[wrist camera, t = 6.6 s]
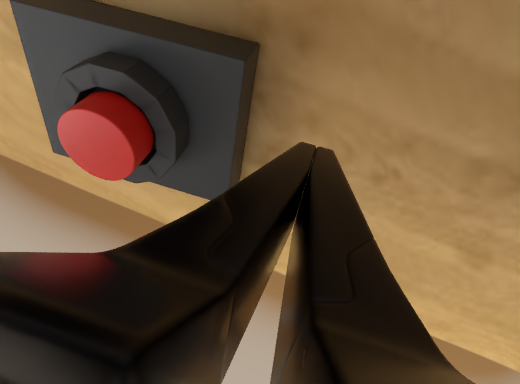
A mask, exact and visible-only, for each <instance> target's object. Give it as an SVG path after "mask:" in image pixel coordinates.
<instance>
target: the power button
mask: <svg viewBox="0 0 520 384" xmlns="http://www.w3.org/2000/svg"><path fill="white" fill-rule="evenodd" d="M57 130H58V136H59V139H60V142H61V144H62V146H63V148H64V150H65V151H66V152H67V154H68V155H69V156H70V158H71V159H72V160H73V161H74V162H75V163H76V164H77V165H79V166H80V167H81V168H82V169H84V170H85V171H87V172H88V173H90V174H92V175H94V176H96V177H99V178H101V179H105V180H112V181H116V180H122V179H124V178H127V177H128V176H129V175H130V174H131V173H132V172H133V171H134V170H135V169H136V168H137V167H138V165H139V164H140V163H141V162H142V161H143V160H144V159H145V158H146V156H147V155H148V154H149V153H150V151H151V150H152V147H153V142H154V137H153V131H152V128H151V125H150V123H149V121H148V119H147V118H146V116H145V115H144V114H143V112H142V111H141V110H140V109H139V108H138V107H137V106H136V105H135V104H134V103H133V102H131V101H130V100H128V99H127V98H125V97H123V96H121V95H119V94H117V93H114V92H109V91H97V92H94V93H91V94H90V95H88V96H87V97H86V98H84V99H83V100H81V101H80V102H78V103H77V104H76V105H74V106H73V107H71V108H70V109H68V110H67V111H66V112H64V113H63V114H62V115H61V117H60V119H59V121H58V126H57Z"/></svg>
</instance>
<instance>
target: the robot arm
mask: <svg viewBox="0 0 520 384" xmlns="http://www.w3.org/2000/svg"><path fill="white" fill-rule="evenodd" d="M314 154H315V155H314ZM313 157H314V158H313ZM311 164H312V165H311ZM309 171H310V172H309ZM308 174H309V175H308ZM306 181H307V182H306ZM305 184H306V185H305ZM304 188H305V189H304ZM303 191H304V192H303ZM301 198H302V199H301ZM300 201H301V202H300ZM298 208H299V209H298ZM297 211H298V212H297ZM296 215H297V216H296ZM295 218H296V219H295ZM294 221H295V223H294ZM293 224H294V227H293ZM292 227H293V232H292V239H291V246H290V252H289V259H288V266H287V273H286V280H285V286H284V293H283V300H282V307H281V314H280V321H279V327H278V334H277V341H276V347H275V354H274V362H273V368H272V375H271V382H270V384H475V383H473V382H472V381H470V380H469V379H467V378H466V377H465V376H464V375H462V374H461V373H460V372H459V371H458V370H456V369H455V368H454V367H453V366H452V365H451V363H450V362H449V361H448V360H447V359H446V358H445V356H444V355H443V354H442V353H441V351H440V350H439V348H438V347H437V346H436V344H435V343H434V341H433V339H432V338H431V336H430V334H429V333H428V331H427V330H426V328H425V327H424V325H423V323H422V322H421V320H420V319H419V317H418V315H417V314H416V312H415V311H414V309H413V307H412V306H411V304H410V303H409V301H408V299H407V298H406V296H405V295H404V293H403V291H402V290H401V288H400V286H399V285H398V283H397V281H396V279H395V278H394V276H393V274H392V273H391V271H390V269H389V267H388V265H387V263H386V261H385V259H384V257H383V255H382V253H381V252H380V249H379V247H378V245H377V243H376V241H375V240H374V237H373V235H372V233H371V230H370V228H369V226H368V224H367V222H366V220H365V218H364V215H363V213H362V211H361V209H360V207H359V205H358V203H357V200H356V198H355V196H354V194H353V192H352V190H351V188H350V185H349V183H348V181H347V179H346V177H345V175H344V173H343V170H342V168H341V166H340V164H339V162H338V160H337V158H336V155H335V153H334V151H333V150H330V149H327V148H323V147H317V148H316V146H315V145H312V144H309V143H305V142H300V143H298V144H296V145H295V146H293V147H292V148H290V149H289V150H287V151H286V152H284V153H283V154H281V155H280V156H278V157H277V158H275V159H274V160H272V161H271V162H269V163H268V164H266V165H264V166H263V167H261V168H260V169H258V170H257V171H255V172H254V173H252V174H251V175H249V176H248V177H246V178H245V179H243V180H242V181H240V182H239V183H237V184H236V185H234V186H232V187H231V188H229V189H228V190H226V191H225V192H223V194H220V195H219V196H217V197H215V198H214V199H212V200H211V201H209V202H208V203H206V204H204V205H203V206H201V207H199V208H198V209H196V210H194V211H192V212H190V213H189V214H187V215H185V216H183V217H181V218H179V219H177V220H175V221H173V222H171V223H169V224H167V225H165V226H163V227H161V228H159V229H157V230H155V231H153V232H151V233H149V234H147V235H145V236H143V237H140V238H138V239H137V240H134V241H132V242H130V243H128V244H126V245H124V246H121V247H119V248H116V249H113V250H109V251H105V252H98V253H47V252H44V253H43V252H40V253H39V252H37V253H36V252H0V384H221V383H222V381H223V379H224V376H225V374H226V372H227V370H228V368H229V366H230V363H231V361H232V359H233V357H234V355H235V352H236V350H237V348H238V346H239V344H240V341H241V339H242V337H243V335H244V333H245V331H246V328H247V326H248V324H249V322H250V320H251V317H252V315H253V313H254V311H255V309H256V306H257V304H258V302H259V300H260V298H261V296H262V293H263V291H264V289H265V287H266V285H267V282H268V280H269V278H270V276H271V274H272V271H273V269H274V267H275V265H276V263H277V261H278V258H279V256H280V254H281V252H282V250H283V247H284V245H285V243H286V241H287V239H288V236H289V234H290V232H291V229H292Z"/></svg>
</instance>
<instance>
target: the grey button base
mask: <svg viewBox="0 0 520 384" xmlns="http://www.w3.org/2000/svg"><path fill="white" fill-rule="evenodd" d="M10 3H11V7H12V10H13V14H14V17H15V21H16V24H17V28H18V31H19V35H20V38H21V42H22V45H23V49H24V52H25V56H26V59H27V63H28V66H29V70H30V73H31V77H32V80H33V84H34V87H35V91H36V94H37V98H38V101H39V105H40V108H41V111H42V115H43V118H44V122H45V125H46V129H47V132H48V136H49V139H50V143H51V146H52V150H53V152H54V153H57V154H60V155H63V156H67V157H70V156H69V155H68V154H67V152H66V151H65V150H64V148H63V146H62V144H61V142H60V139H59V136H58V130H57V126H58V121H59V119H60V117H61V115H62V114H63V113H64V112H66V111H67V110H68V109H70V108H71V107H73V106H74V105H76V104H77V103H78V102H80V101H81V100H83V99H84V98H86V97H87V96H88V95H90V94H91V93H94V92H97V91H109V92H114V93H117V94H119V95H121V96H123V97H125V98H127V99H128V100H130V101H131V102H133V103H134V104H135V105H136V106H137V107H138V108H139V109H140V110H141V111H142V112H143V114H144V115H145V116H146V118H147V119H148V121H149V123H150V125H151V128H152V131H153V137H154V142H153V147H152V150H151V151H150V153H149V154H148V155H147V156H146V158H145V159H144V160H143V161H142V162H141V163H140V164H139V165H138V167H137V168H136V169H135V170H134V171H133V172H132V173H131V174H130V175H129V176H128V177H127V178H124V179H123V180H127V181H130V182H133V183H142V182H148V181H149V182H152V183H156V184H159V185H162V186H166V187H169V188H172V189H175V190H179V191H182V192H185V193H189V194H192V195H195V196H199V197H202V198H205V199H208V200H212V199H214V198H215V197H217V196H219V195H220V194H223V192H225V191H226V190H228V189H229V188H231V187H232V186H234V185H236V184H237V183H239V179H240V173H241V166H242V159H243V152H244V146H245V139H246V132H247V125H248V119H249V112H250V105H251V98H252V91H253V85H254V78H255V71H256V64H257V58H258V51H259V44H258V43H255V42H251V41H247V40H243V39H239V38H235V37H231V36H227V35H223V34H220V33H216V32H212V31H208V30H204V29H200V28H196V27H192V26H188V25H184V24H180V23H177V22H173V21H169V20H165V19H161V18H157V17H153V16H149V15H145V14H141V13H137V12H134V11H130V10H126V9H122V8H118V7H114V6H110V5H106V4H102V3H98V2H94V1H90V0H10Z"/></svg>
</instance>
